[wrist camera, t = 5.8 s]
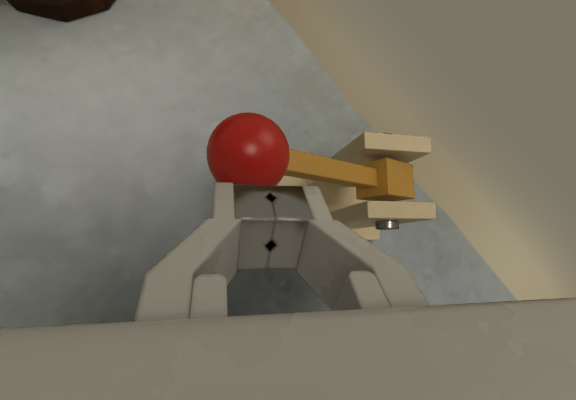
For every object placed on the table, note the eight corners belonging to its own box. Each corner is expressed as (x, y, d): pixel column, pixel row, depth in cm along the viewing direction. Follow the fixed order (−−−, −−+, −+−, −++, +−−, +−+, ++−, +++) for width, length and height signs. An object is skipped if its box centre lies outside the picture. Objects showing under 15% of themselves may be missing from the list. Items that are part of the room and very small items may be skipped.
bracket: (274, 240, 29) (320, 236, 17) (274, 166, 30) (317, 110, 18) (373, 240, 31) (478, 236, 19) (370, 171, 32) (467, 124, 20)
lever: (192, 196, 14) (231, 183, 11) (195, 119, 14) (232, 88, 12) (375, 213, 22) (425, 208, 19) (373, 163, 22) (421, 151, 20)
